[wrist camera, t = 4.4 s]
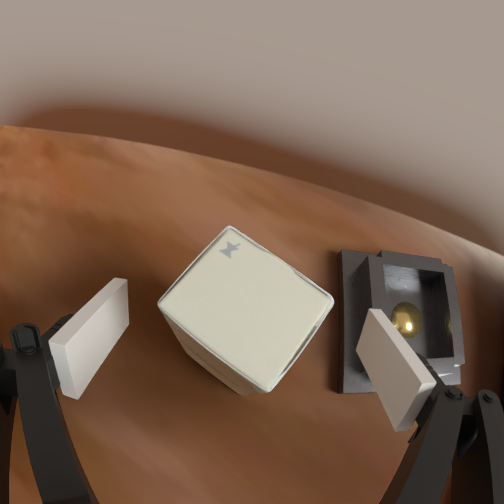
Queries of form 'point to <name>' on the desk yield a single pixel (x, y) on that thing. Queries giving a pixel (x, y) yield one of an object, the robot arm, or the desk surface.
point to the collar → (399, 311)
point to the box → (244, 312)
